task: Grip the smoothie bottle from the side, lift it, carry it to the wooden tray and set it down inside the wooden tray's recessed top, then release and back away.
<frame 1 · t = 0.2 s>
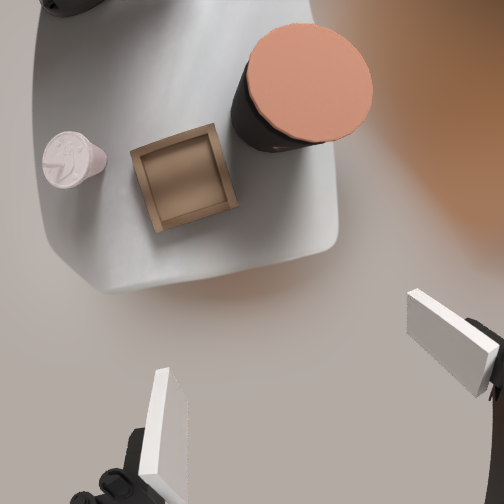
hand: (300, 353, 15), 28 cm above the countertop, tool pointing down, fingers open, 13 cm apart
smoothie: (95, 160, 36), on the countertop
coffee jar: (270, 115, 38), on the countertop
wooden tray: (185, 177, 38), on the countertop
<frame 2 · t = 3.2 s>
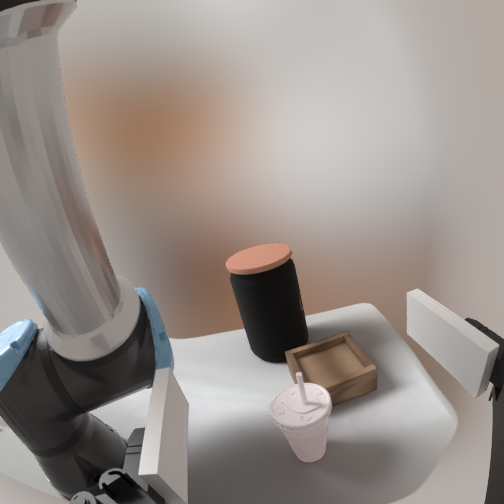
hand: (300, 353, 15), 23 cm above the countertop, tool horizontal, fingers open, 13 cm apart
smoothie: (310, 451, 31), on the countertop
coffee jar: (280, 346, 54), on the countertop
wooden tray: (330, 380, 42), on the countertop
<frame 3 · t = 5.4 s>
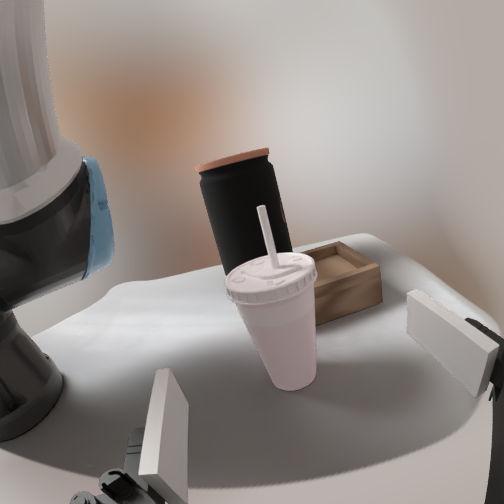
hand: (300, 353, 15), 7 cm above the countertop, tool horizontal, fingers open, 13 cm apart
smoothie: (294, 376, 24), on the countertop
coffee jar: (262, 274, 47), on the countertop
wooden tray: (321, 297, 35), on the countertop
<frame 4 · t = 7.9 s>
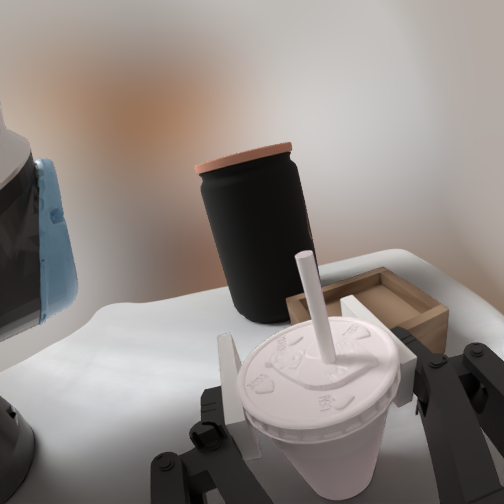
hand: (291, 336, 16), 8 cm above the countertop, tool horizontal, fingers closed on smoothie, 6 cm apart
smoothie: (341, 475, 14), on the countertop, touching gripper
coffee jar: (279, 303, 37), on the countertop
wooden tray: (364, 344, 25), on the countertop
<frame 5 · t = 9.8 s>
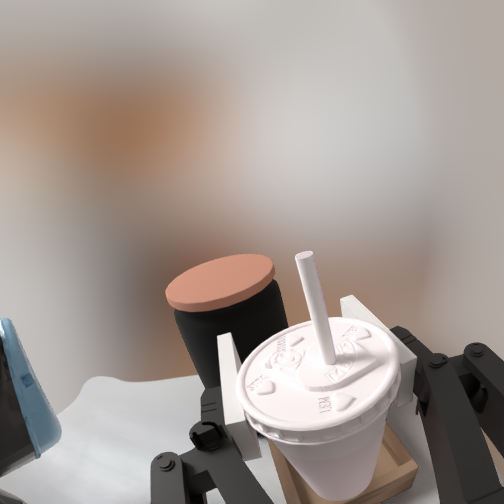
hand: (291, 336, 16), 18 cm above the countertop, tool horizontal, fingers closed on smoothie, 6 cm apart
smoothie: (341, 476, 13), point 10 cm above the countertop, touching gripper
coffee jar: (261, 406, 34), on the countertop
wooden tray: (338, 472, 22), on the countertop
when the fingers open (12 cm above the countertop, at t = 11.6 s): smoothie drops 2 cm, resting on wooden tray.
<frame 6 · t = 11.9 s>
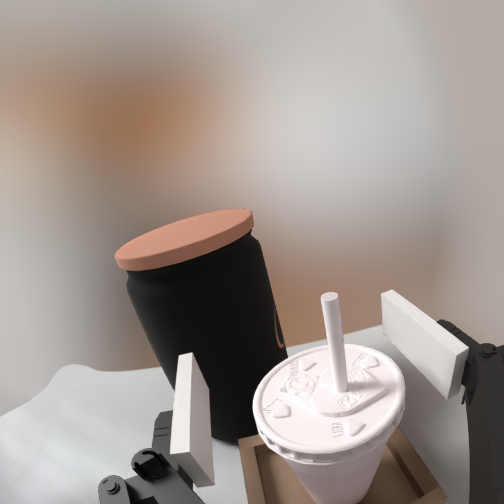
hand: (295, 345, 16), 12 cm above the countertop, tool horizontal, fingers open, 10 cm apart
smoothie: (339, 487, 14), point 3 cm above the countertop, touching wooden tray
coffee jar: (244, 406, 27), on the countertop
wooden tray: (335, 498, 15), on the countertop
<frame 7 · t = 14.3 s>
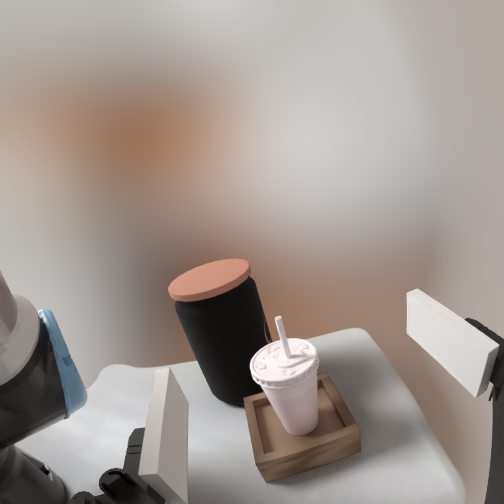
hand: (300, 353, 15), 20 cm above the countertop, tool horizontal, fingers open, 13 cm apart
smoothie: (301, 423, 29), point 3 cm above the countertop, touching wooden tray
coffee jar: (247, 384, 42), on the countertop
wooden tray: (301, 435, 30), on the countertop
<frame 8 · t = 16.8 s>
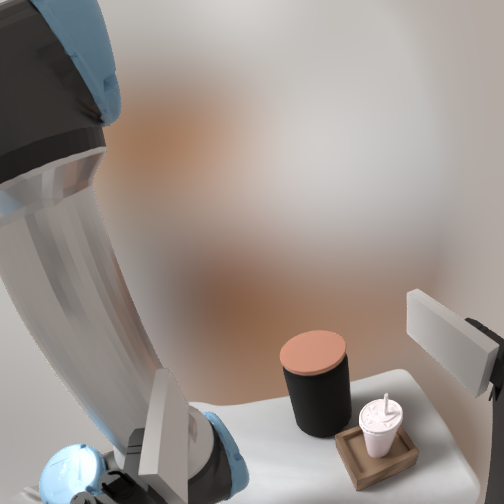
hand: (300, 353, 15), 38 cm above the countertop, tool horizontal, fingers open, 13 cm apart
smoothie: (378, 449, 38), point 3 cm above the countertop, touching wooden tray
coffee jar: (324, 419, 51), on the countertop
wooden tray: (375, 456, 39), on the countertop
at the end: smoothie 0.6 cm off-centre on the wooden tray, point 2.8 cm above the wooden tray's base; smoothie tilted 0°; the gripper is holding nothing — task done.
